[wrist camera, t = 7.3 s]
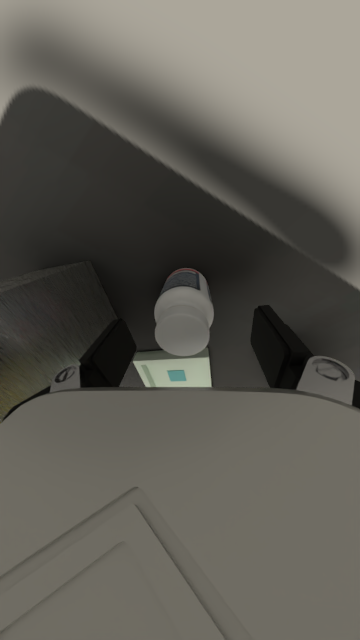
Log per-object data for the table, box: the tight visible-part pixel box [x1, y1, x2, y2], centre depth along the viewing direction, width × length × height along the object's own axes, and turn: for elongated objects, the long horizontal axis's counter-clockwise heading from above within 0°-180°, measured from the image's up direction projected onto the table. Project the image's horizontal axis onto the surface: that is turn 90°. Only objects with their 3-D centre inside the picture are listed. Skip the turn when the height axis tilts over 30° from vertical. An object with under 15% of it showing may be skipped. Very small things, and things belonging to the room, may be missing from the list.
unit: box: [0, 261, 118, 424], centre depth 13 cm, size 8×11×17 cm
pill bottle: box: [154, 268, 214, 356], centre depth 14 cm, size 5×5×9 cm
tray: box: [133, 348, 212, 387], centre depth 26 cm, size 12×12×2 cm
